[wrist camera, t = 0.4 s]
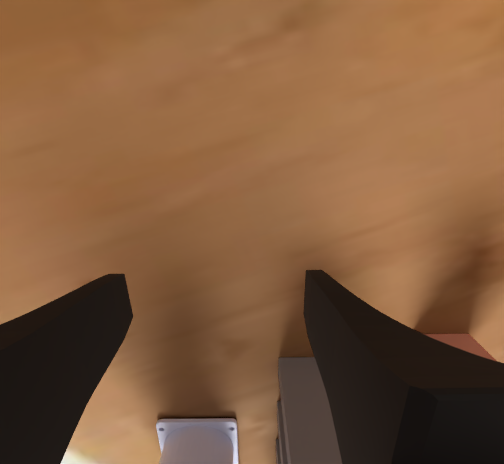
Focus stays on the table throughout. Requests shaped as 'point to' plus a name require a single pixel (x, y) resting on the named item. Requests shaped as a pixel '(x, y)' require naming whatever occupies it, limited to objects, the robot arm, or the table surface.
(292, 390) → the domino
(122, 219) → the table surface
